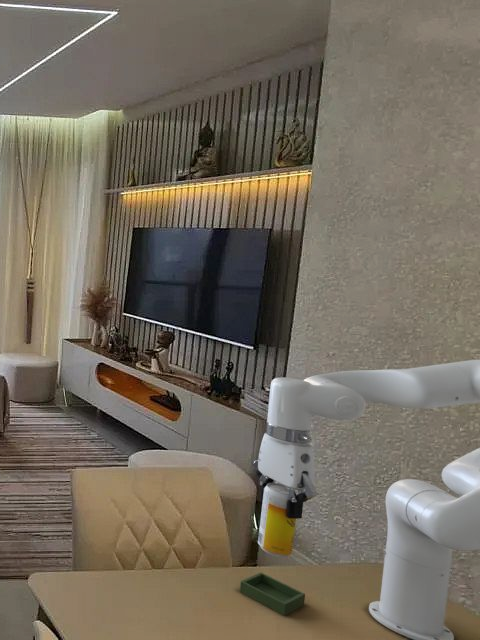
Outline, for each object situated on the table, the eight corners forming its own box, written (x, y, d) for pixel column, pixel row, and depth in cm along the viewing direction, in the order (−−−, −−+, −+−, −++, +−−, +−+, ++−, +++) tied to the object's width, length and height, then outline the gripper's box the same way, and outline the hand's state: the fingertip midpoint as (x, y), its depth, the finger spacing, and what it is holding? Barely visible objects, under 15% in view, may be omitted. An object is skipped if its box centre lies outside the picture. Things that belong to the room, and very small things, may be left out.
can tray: (259, 582, 129) (260, 572, 129) (304, 604, 121) (305, 593, 121) (239, 591, 125) (240, 581, 125) (284, 615, 117) (285, 604, 117)
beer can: (297, 560, 119) (305, 496, 118) (266, 556, 121) (274, 493, 119) (281, 544, 125) (288, 483, 124) (251, 541, 126) (258, 480, 125)
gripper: (341, 448, 112) (332, 530, 114) (269, 420, 130) (263, 492, 131) (307, 447, 112) (299, 530, 113) (240, 420, 129) (234, 492, 130)
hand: (279, 509), depth 122 cm, fingers closed on beer can, 6 cm apart
